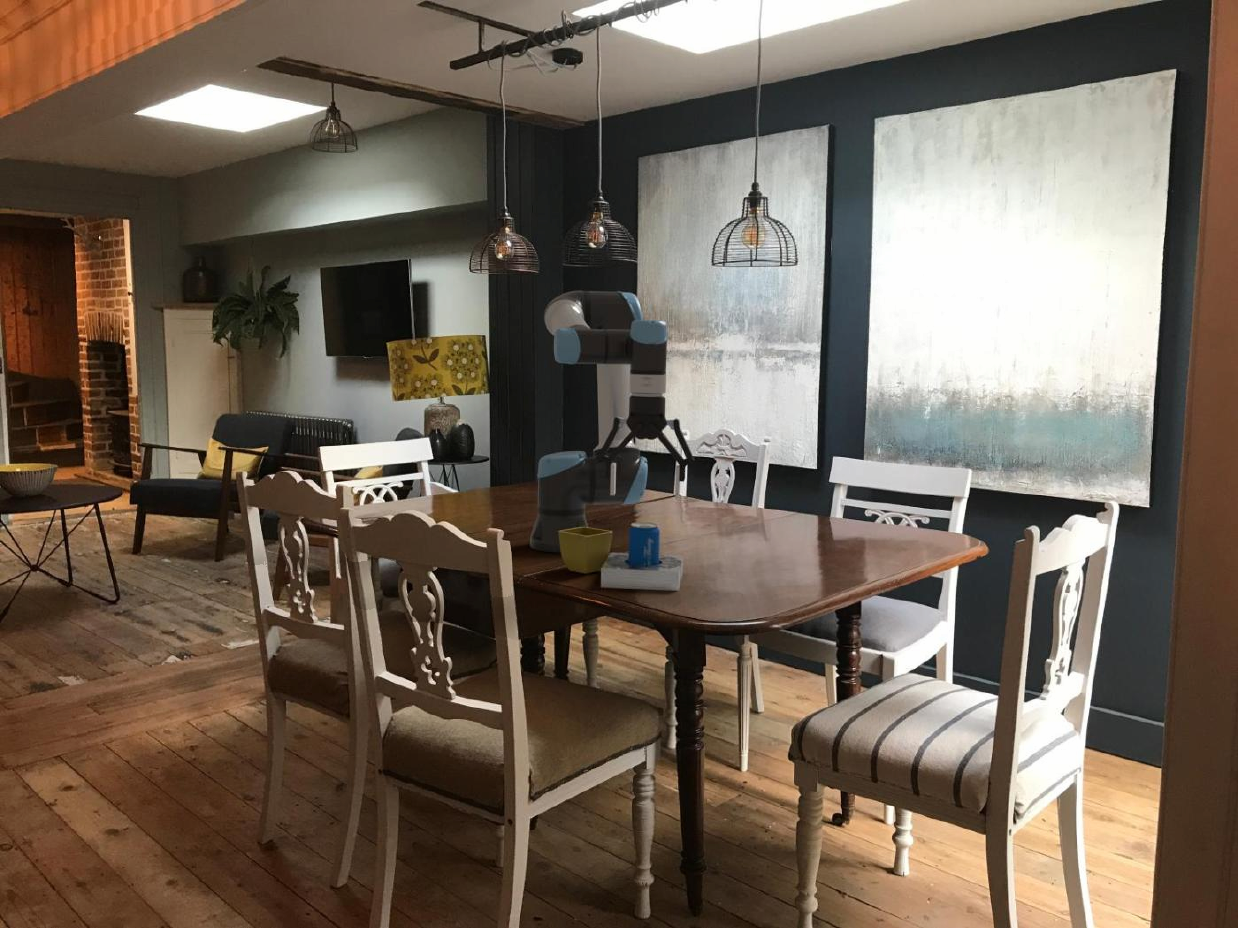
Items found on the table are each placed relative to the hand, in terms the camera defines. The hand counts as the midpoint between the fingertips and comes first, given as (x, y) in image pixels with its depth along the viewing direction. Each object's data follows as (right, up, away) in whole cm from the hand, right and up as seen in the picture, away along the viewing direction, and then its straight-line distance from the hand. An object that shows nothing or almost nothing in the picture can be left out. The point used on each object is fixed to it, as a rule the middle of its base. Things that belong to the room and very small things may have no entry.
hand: (644, 495), depth 211 cm
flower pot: (-13, -17, +10) cm, 24 cm away
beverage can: (0, -18, +2) cm, 18 cm away
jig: (0, -18, +2) cm, 18 cm away
